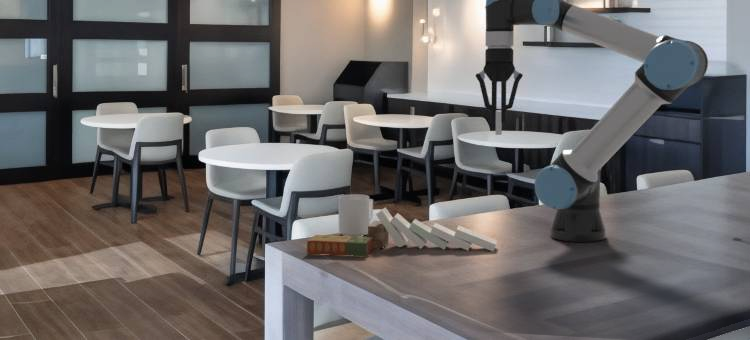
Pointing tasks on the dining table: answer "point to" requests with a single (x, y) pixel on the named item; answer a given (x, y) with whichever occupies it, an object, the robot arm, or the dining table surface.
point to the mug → (354, 214)
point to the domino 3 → (427, 234)
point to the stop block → (378, 234)
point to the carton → (340, 245)
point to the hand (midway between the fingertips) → (498, 134)
